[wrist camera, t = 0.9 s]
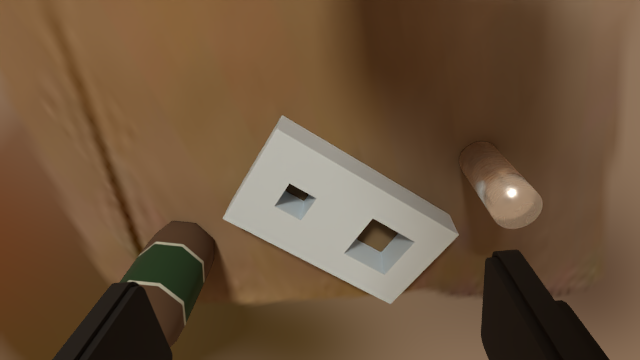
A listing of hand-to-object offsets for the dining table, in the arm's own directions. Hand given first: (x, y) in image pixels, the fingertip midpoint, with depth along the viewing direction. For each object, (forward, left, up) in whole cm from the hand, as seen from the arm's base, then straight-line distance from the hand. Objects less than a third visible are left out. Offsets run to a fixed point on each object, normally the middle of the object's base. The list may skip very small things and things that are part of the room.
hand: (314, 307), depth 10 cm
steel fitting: (-1, +18, -30) cm, 35 cm away
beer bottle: (+27, -4, -30) cm, 41 cm away
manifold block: (+12, +9, -30) cm, 34 cm away
